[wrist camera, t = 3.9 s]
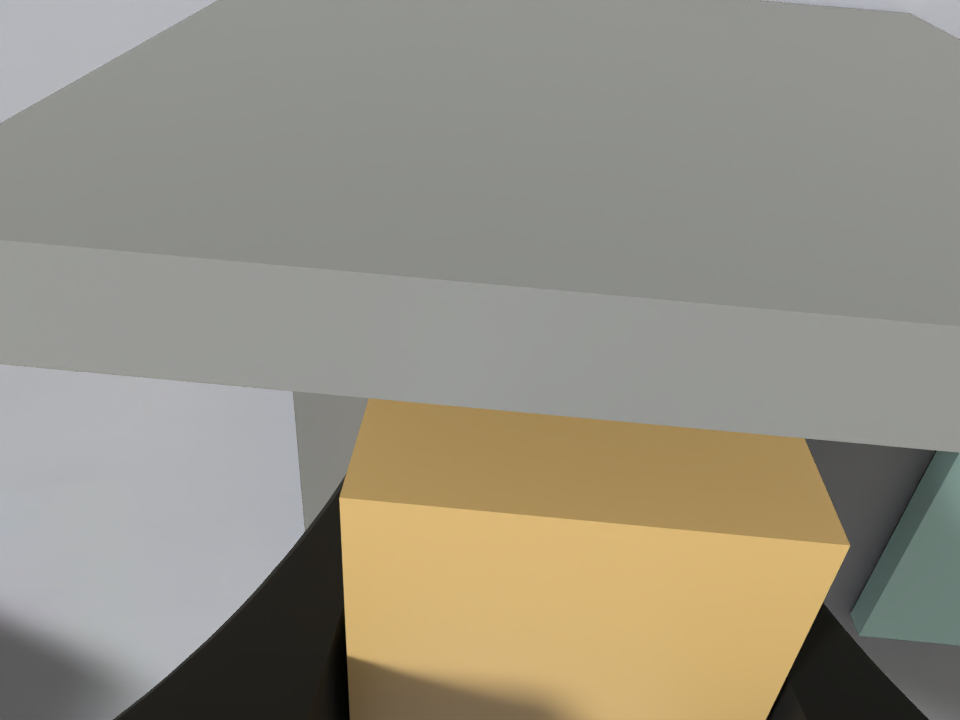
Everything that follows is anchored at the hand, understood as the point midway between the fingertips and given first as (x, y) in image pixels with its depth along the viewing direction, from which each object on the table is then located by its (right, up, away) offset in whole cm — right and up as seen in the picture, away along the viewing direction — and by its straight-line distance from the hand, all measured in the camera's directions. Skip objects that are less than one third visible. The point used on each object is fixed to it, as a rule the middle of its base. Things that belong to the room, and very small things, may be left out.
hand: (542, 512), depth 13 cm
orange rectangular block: (0, +2, +2) cm, 3 cm away
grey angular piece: (0, +2, +3) cm, 4 cm away
